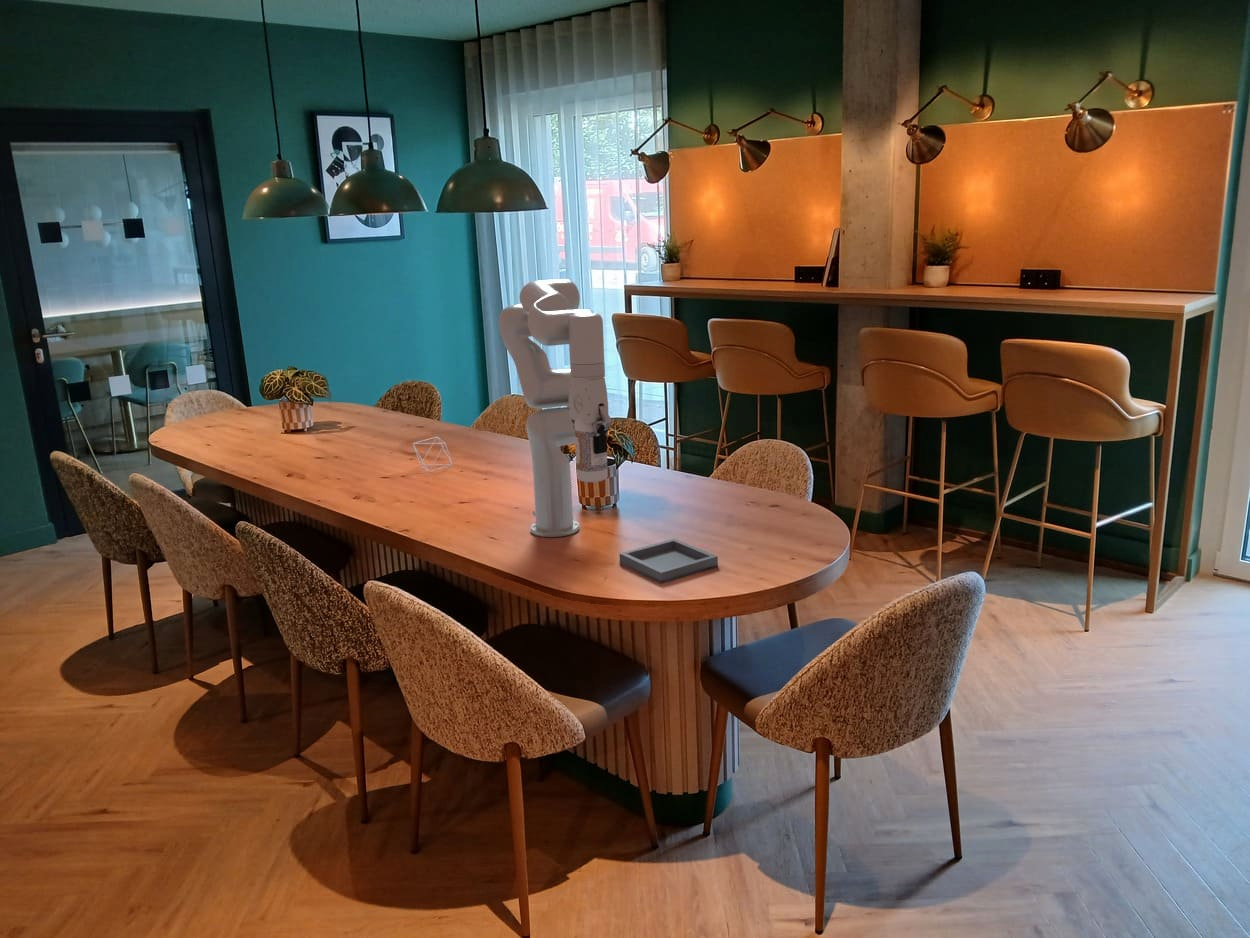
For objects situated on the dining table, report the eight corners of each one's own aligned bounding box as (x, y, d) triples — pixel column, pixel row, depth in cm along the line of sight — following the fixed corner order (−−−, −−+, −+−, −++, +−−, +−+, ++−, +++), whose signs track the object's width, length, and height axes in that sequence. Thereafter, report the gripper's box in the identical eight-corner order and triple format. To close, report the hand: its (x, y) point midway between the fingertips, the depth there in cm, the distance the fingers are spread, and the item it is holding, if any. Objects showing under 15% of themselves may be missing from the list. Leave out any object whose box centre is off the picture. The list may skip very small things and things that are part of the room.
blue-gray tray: (619, 563, 220) (619, 553, 220) (674, 548, 229) (674, 538, 229) (661, 583, 208) (661, 572, 207) (717, 566, 216) (717, 556, 216)
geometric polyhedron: (408, 468, 312) (405, 442, 310) (432, 461, 321) (430, 435, 318) (435, 474, 305) (432, 446, 303) (459, 466, 314) (457, 439, 311)
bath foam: (575, 475, 217) (570, 389, 212) (605, 473, 218) (601, 387, 213) (579, 483, 210) (574, 394, 205) (610, 481, 211) (606, 392, 206)
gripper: (552, 368, 213) (557, 445, 218) (594, 377, 199) (597, 459, 203) (581, 364, 217) (585, 440, 221) (624, 373, 203) (626, 454, 207)
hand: (591, 449), depth 212 cm, fingers closed on bath foam, 7 cm apart
